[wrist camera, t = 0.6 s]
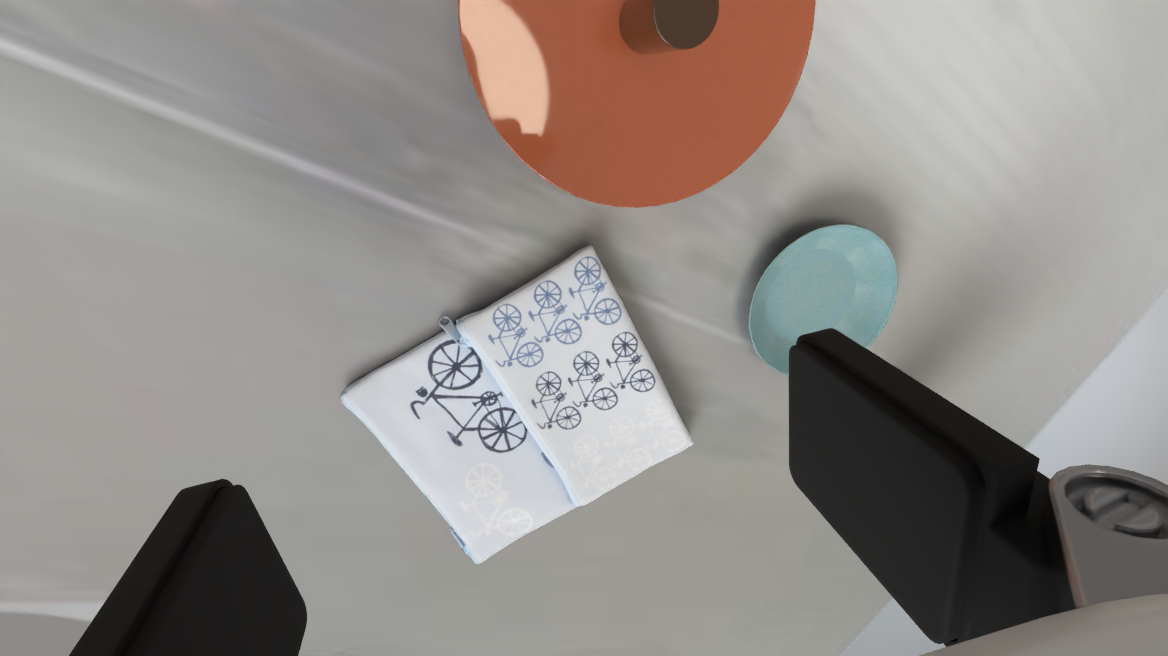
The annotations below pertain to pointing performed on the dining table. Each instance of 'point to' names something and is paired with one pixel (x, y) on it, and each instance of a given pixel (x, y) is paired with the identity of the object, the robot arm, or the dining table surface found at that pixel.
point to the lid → (635, 87)
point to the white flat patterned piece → (524, 407)
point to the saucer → (823, 291)
